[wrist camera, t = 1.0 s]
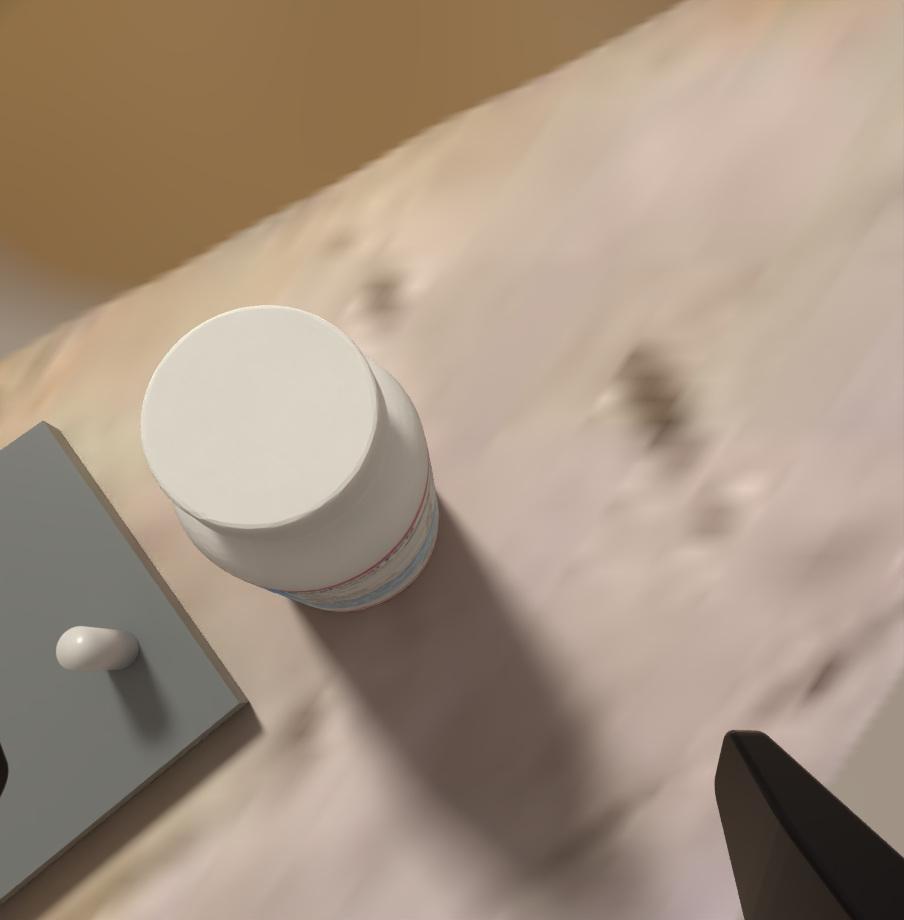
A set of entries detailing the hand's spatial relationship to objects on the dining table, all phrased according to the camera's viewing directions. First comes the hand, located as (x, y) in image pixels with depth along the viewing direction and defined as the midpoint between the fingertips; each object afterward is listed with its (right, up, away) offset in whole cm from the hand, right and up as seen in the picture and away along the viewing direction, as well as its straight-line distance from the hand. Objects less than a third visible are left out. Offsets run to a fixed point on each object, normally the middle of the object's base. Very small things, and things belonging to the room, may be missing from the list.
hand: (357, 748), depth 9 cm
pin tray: (-14, -3, +14) cm, 20 cm away
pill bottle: (-2, +1, +16) cm, 16 cm away
